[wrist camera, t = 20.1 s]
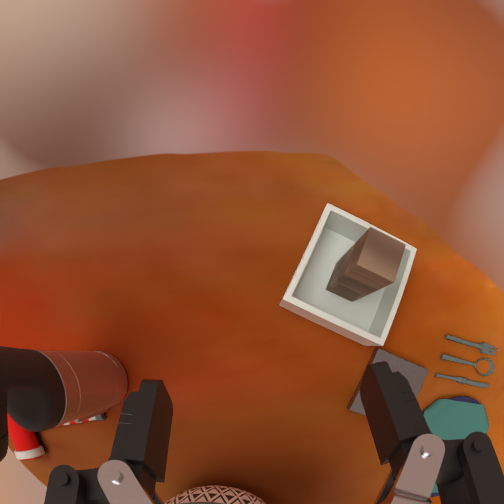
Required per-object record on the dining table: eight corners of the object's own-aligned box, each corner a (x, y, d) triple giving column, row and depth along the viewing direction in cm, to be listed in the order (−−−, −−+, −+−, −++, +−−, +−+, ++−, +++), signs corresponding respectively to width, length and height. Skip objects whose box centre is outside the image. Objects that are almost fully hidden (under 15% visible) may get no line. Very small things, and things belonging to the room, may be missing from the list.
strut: (352, 302, 43) (394, 282, 29) (325, 289, 44) (356, 264, 29) (362, 274, 44) (405, 244, 30) (336, 262, 45) (370, 226, 30)
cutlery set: (376, 493, 35) (381, 499, 32) (435, 328, 43) (442, 327, 41) (457, 492, 33) (463, 496, 31) (504, 349, 41) (512, 349, 39)
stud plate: (397, 426, 38) (412, 434, 33) (346, 407, 40) (357, 415, 34) (423, 369, 41) (441, 371, 35) (375, 348, 42) (389, 348, 37)
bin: (365, 345, 42) (382, 346, 35) (278, 305, 44) (282, 299, 38) (397, 261, 46) (416, 248, 39) (318, 221, 48) (327, 203, 41)
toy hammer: (93, 378, 41) (73, 382, 35) (119, 444, 38) (102, 456, 32) (11, 398, 39) (-10, 400, 33) (31, 453, 36) (11, 460, 30)
